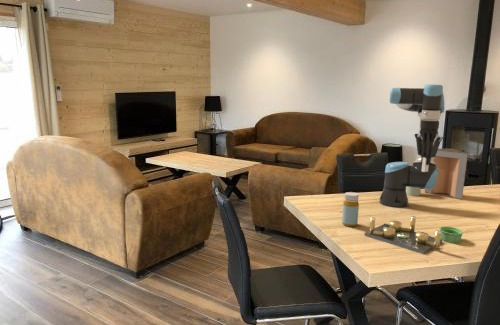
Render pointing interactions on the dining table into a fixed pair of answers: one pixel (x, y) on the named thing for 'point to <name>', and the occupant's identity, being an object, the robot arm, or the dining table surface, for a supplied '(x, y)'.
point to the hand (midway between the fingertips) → (424, 171)
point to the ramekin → (451, 234)
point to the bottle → (350, 209)
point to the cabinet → (449, 173)
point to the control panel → (403, 240)
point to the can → (413, 191)
